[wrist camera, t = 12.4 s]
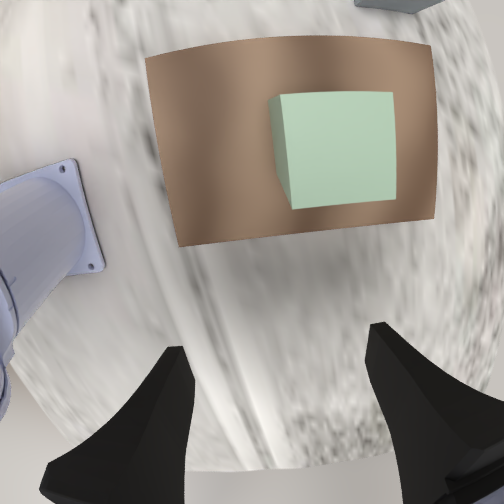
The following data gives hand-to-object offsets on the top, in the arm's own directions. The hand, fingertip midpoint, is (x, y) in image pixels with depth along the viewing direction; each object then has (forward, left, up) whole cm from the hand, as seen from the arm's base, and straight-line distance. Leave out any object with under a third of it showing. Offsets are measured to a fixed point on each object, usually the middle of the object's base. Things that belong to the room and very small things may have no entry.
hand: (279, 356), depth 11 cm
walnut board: (+3, +7, -9) cm, 12 cm away
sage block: (+3, +7, -8) cm, 11 cm away
